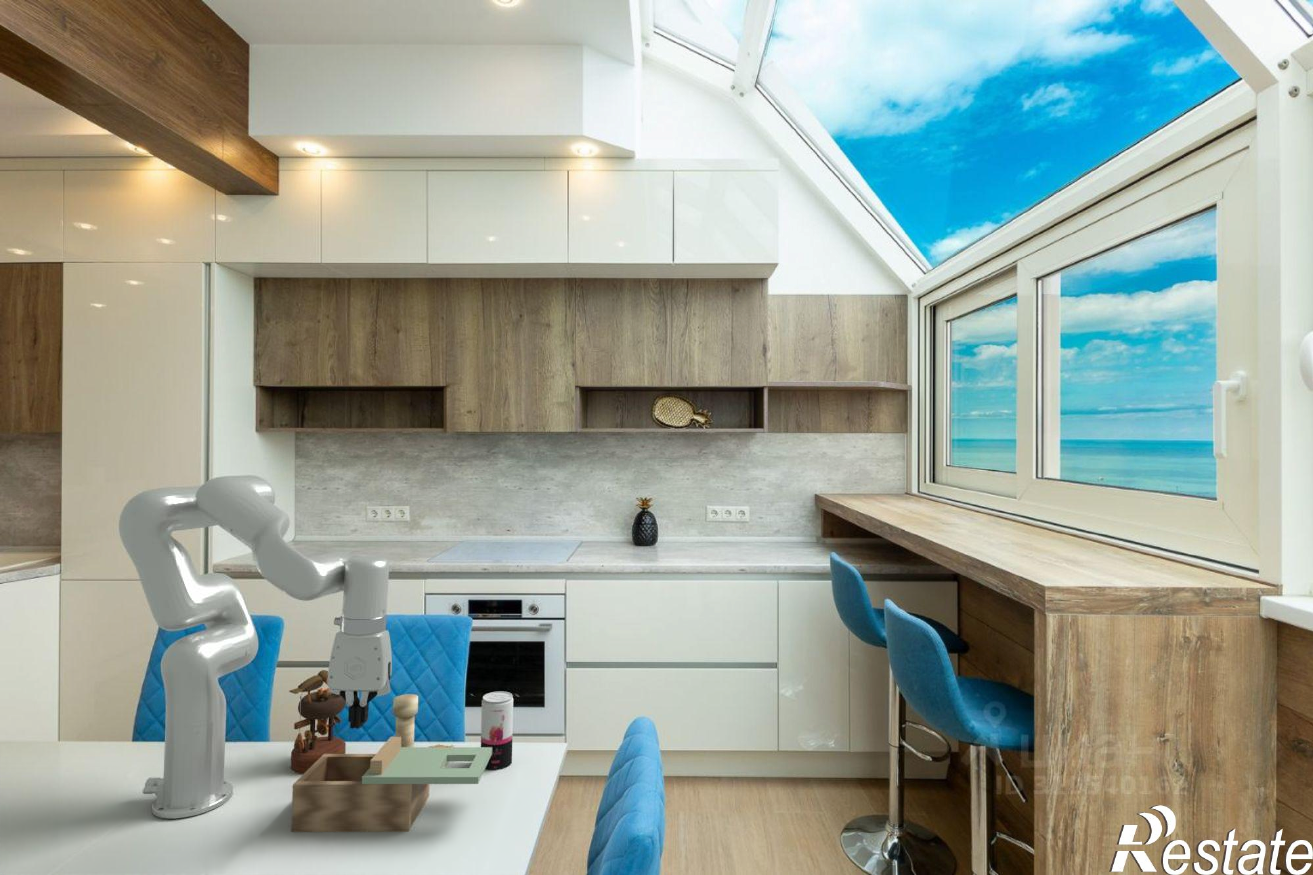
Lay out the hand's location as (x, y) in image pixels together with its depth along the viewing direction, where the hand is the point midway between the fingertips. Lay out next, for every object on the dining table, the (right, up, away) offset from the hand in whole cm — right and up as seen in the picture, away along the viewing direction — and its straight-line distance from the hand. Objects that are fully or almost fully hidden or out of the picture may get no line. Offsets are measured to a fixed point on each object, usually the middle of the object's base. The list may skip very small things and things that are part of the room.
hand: (357, 725), depth 123 cm
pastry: (+7, -18, +22) cm, 29 cm away
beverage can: (+20, -18, +20) cm, 34 cm away
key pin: (+3, -17, +15) cm, 23 cm away
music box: (-18, -17, +22) cm, 33 cm away
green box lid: (+13, -8, 0) cm, 15 cm away
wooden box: (+1, -17, -1) cm, 17 cm away
